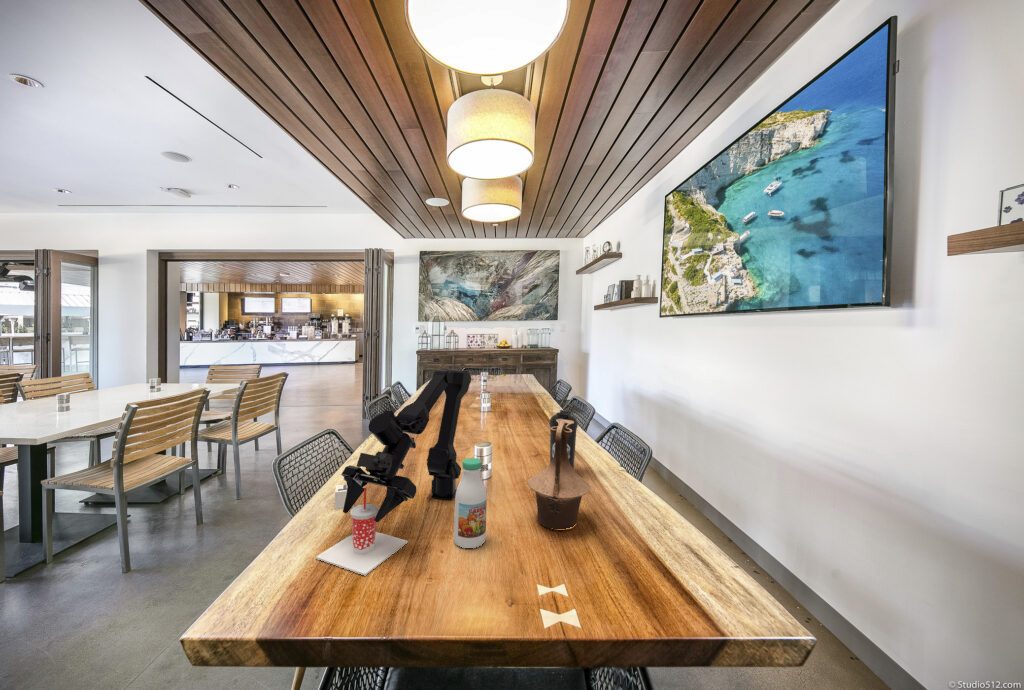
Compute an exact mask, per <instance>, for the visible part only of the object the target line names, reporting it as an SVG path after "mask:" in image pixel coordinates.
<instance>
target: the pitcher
mask: <svg viewBox="0 0 1024 690" xmlns="http://www.w3.org/2000/svg"><path fill="white" fill-rule="evenodd" d="M556 422H557V423H558V426H556V427H551V431H552V433H553V435H554V437H555V454H554V457H553V460H552V461H551V463H550V462H549V464H548V465H547V467H546V468H544V469H542V470H541V471H540V472H539V473H537V474H535V475H534V476H531V477H530V478H529V479H528V480H527V486H528V488H529V489H530V490H532V491H534V492H535V497H536V498H535V500H536V510H537V518H536V519H538V520H537V522H538V524H540V523H541V524H542V525H544V526H546V527H548V528H547V529H549V528H553V529H566V528H570V527H573V526H574V525H575V524H576V523H577V524H578V515H579V511H580V506H581V501H582V497H583V496H584V495H587V494H588V493H589V492H590V490H591V485H590V484H589V483H588V482H587V481H586V480H584V479H583V478H582V477H581V476H580V475H579V474H578V473H577V472H576V471H575V469H574V470H573V468H572V466H571V464H570V462H569V459H568V453H567V439H568V438H569V436H570V434H571V433H572V430H571V429H569V427H570V426H571V425H572V424H574V421H571V420H562V419H557V420H556ZM565 423H568V424H567V425H566V426H565ZM541 524H540V525H541ZM542 525H541V526H542ZM544 526H543V527H544ZM546 527H545V528H546Z"/></svg>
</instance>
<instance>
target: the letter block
mask: <svg viewBox="0 0 1024 690" xmlns="http://www.w3.org/2000/svg"><path fill="white" fill-rule="evenodd" d="M346 494H347V483H346V484H339V485H335V490H334V511H337V510H343V508H344V503H345V499H346ZM354 507H355V504H354V505H353V506H352V508H354ZM336 509H337V510H336Z"/></svg>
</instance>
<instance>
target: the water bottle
mask: <svg viewBox="0 0 1024 690" xmlns="http://www.w3.org/2000/svg"><path fill="white" fill-rule="evenodd" d="M571 413H572V412H571V410H565V409H560V410H559V412H556V413H555V414H554V415H552V416H551V417H550V419H549V424H548V425H549V427H550V428H549V429H550V431H549V439H550V440H549V464H550V463H551V461H552V460H553V457H554V454H555V437H554V435H553V433H552V431H551V427H556V426H558V423H557V422H556V420H557V419H562V420H571V421H574V424H572V425H571V426H570V427H569V429H571V430H572V433H571V434H570V436H569V438H568V439H567V453H568V459H569V462H570V464H571V466H572V468H573V470H574V471H575V456H576V455H575V454H576V442H577V429H578V426H579V425H578V424H579V422H578V419H577V418H576V417H575V416H574V415H572V414H571ZM567 424H568V423H565V426H566V425H567Z"/></svg>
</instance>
